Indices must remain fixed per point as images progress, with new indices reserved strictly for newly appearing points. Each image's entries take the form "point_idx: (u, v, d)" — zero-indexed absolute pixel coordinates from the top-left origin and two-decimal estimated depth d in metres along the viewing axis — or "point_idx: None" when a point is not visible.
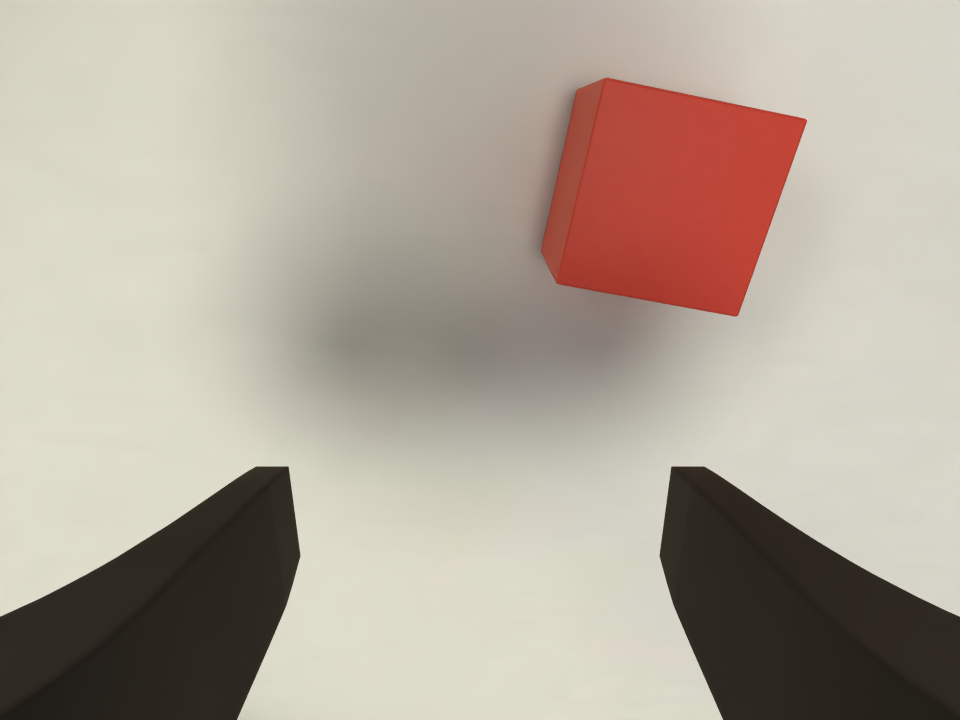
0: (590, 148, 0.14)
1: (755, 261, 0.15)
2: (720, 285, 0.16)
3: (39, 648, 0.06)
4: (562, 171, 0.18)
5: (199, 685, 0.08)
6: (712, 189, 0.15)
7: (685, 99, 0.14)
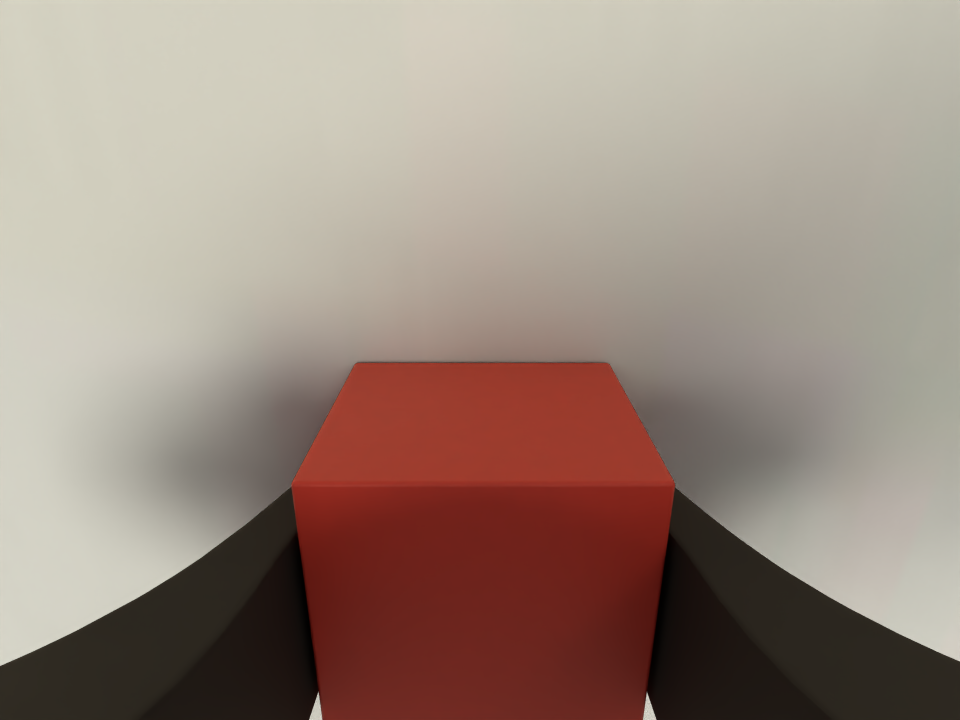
0: (555, 487, 0.08)
1: None
2: (369, 719, 0.09)
3: (153, 648, 0.06)
4: (490, 379, 0.11)
5: (282, 685, 0.08)
6: (519, 672, 0.09)
7: (652, 605, 0.08)
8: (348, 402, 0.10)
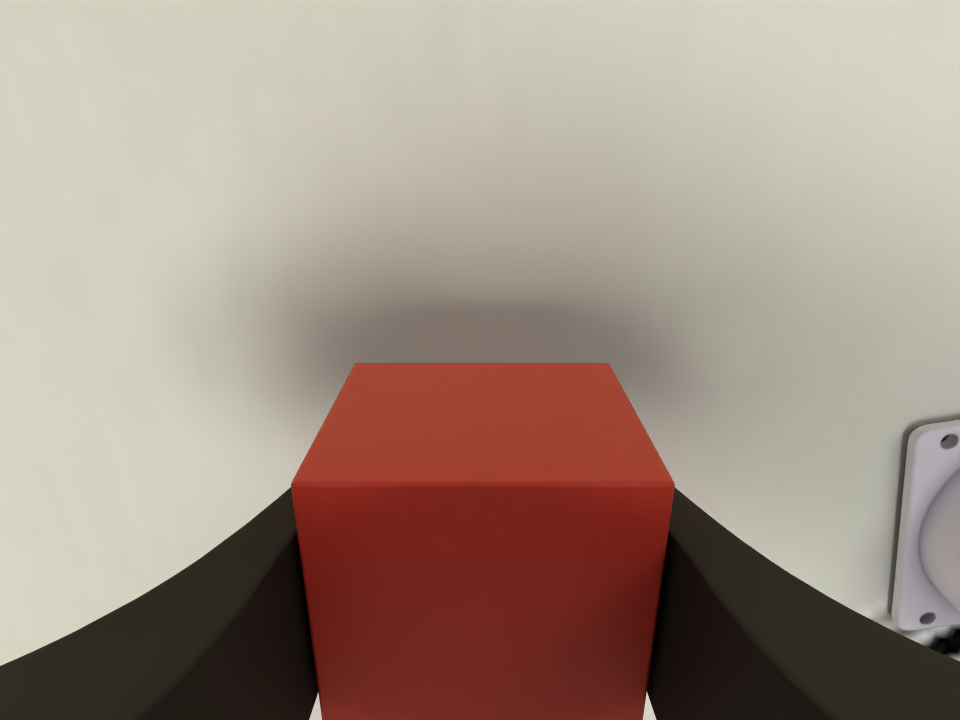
0: (554, 486, 0.08)
1: None
2: (369, 719, 0.09)
3: (153, 648, 0.06)
4: (490, 379, 0.11)
5: (282, 685, 0.08)
6: (518, 671, 0.09)
7: (652, 605, 0.08)
8: (348, 402, 0.10)
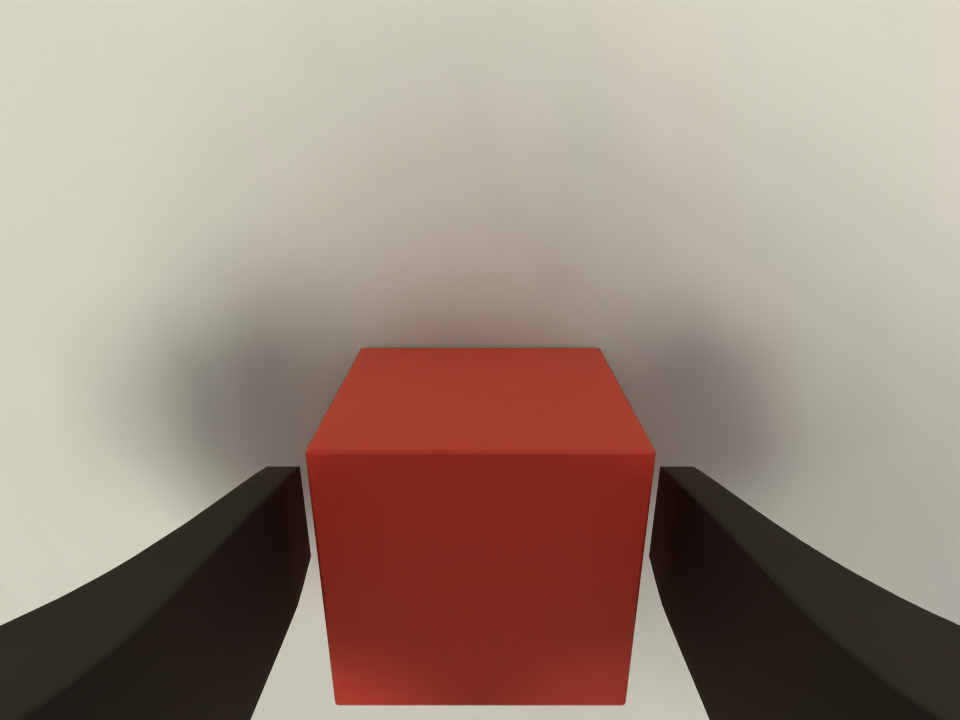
0: (545, 454, 0.08)
1: (423, 704, 0.10)
2: (375, 674, 0.10)
3: (61, 647, 0.06)
4: (488, 362, 0.12)
5: (215, 685, 0.08)
6: (513, 628, 0.10)
7: (636, 565, 0.09)
8: (355, 382, 0.11)
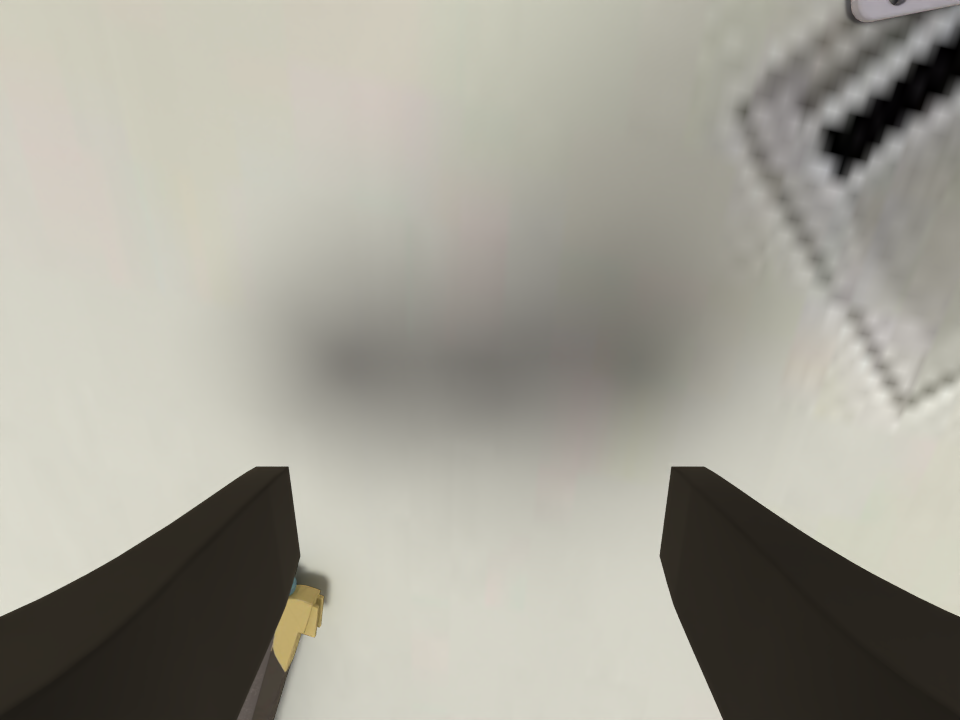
0: None
1: None
2: None
3: (39, 647, 0.06)
4: None
5: (199, 685, 0.08)
6: None
7: None
8: None
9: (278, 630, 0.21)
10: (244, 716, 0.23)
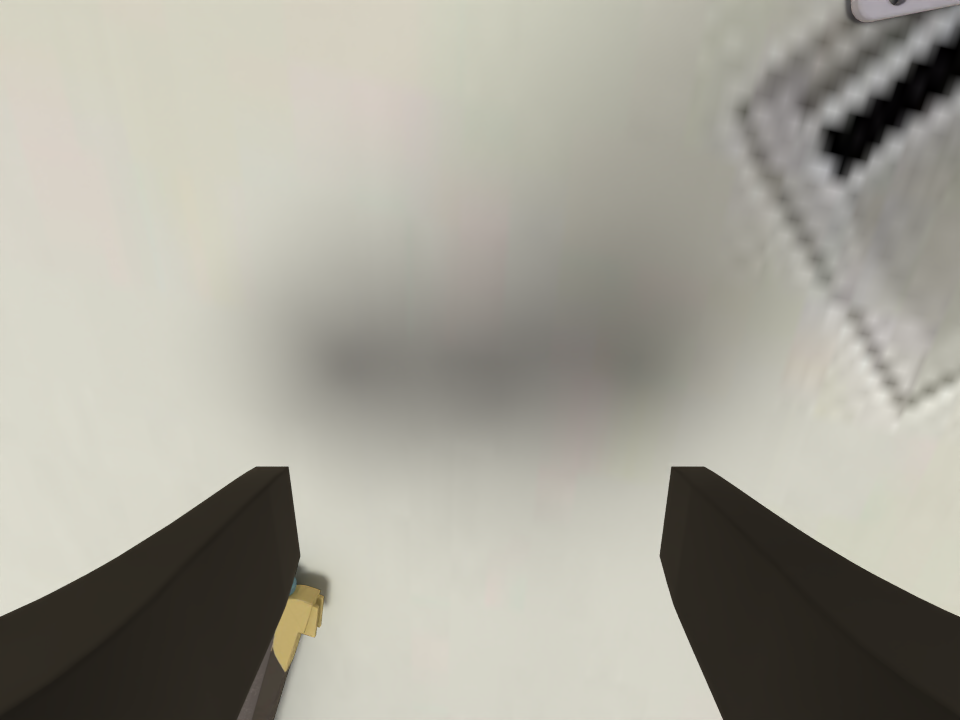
0: None
1: None
2: None
3: (39, 647, 0.06)
4: None
5: (199, 685, 0.08)
6: None
7: None
8: None
9: (278, 630, 0.21)
10: (244, 716, 0.23)
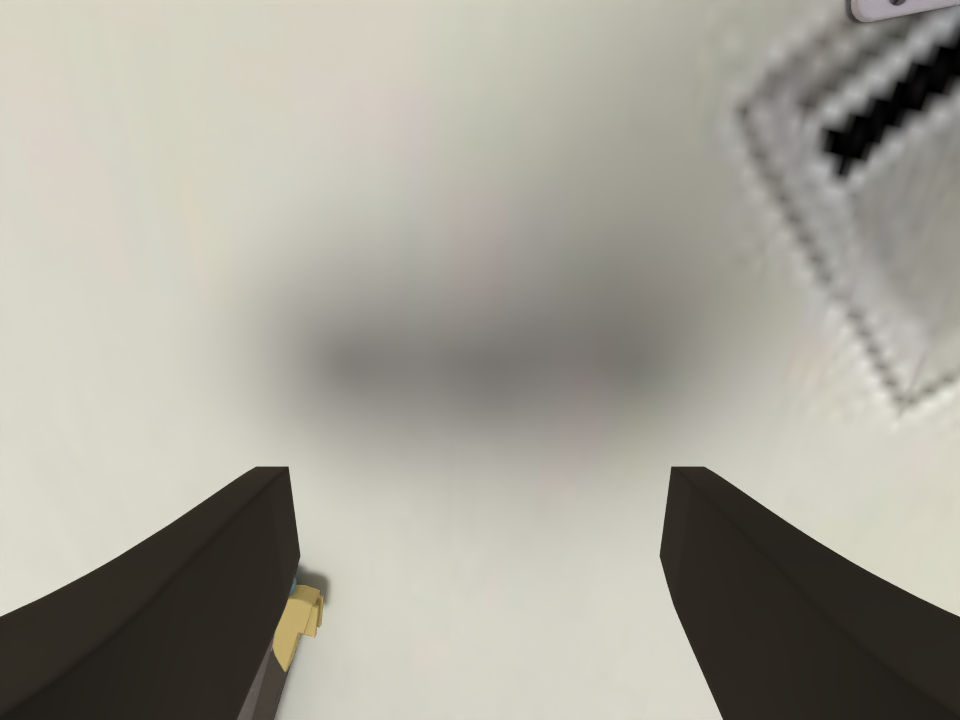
0: None
1: None
2: None
3: (39, 647, 0.06)
4: None
5: (199, 685, 0.08)
6: None
7: None
8: None
9: (278, 630, 0.21)
10: (244, 716, 0.23)
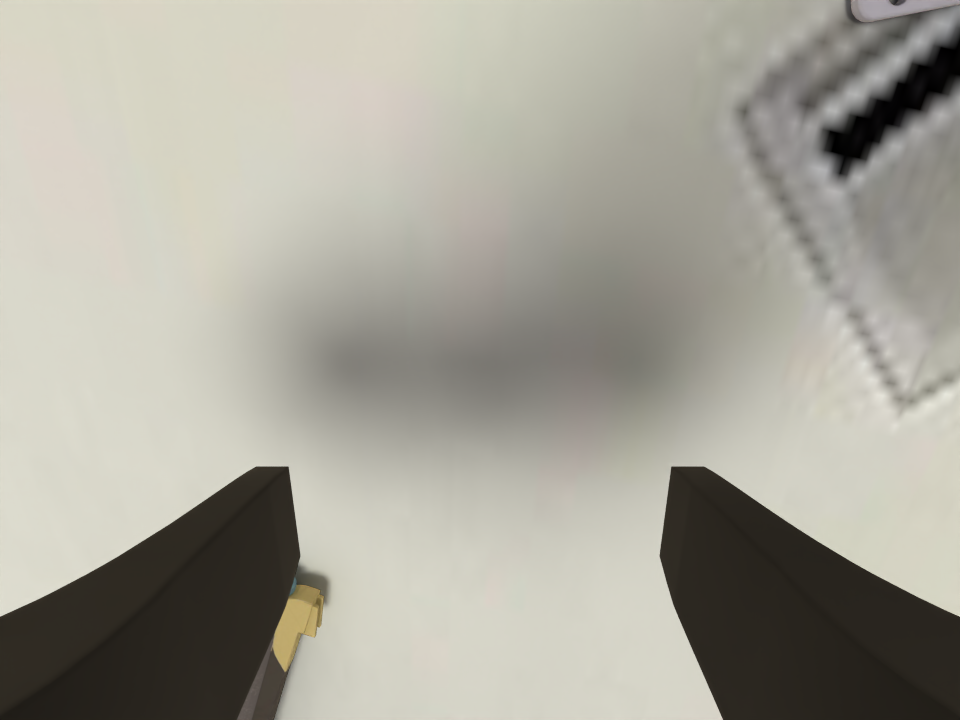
0: None
1: None
2: None
3: (39, 647, 0.06)
4: None
5: (199, 685, 0.08)
6: None
7: None
8: None
9: (278, 630, 0.21)
10: (244, 716, 0.23)
